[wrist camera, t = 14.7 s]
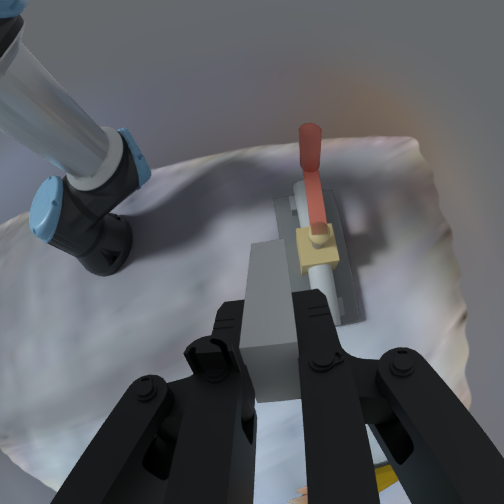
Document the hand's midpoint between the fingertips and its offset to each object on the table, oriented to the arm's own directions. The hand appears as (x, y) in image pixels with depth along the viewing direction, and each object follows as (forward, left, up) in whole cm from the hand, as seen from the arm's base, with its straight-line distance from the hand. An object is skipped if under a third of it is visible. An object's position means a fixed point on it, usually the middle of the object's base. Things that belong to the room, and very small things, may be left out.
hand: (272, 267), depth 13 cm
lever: (+6, +17, -25) cm, 31 cm away
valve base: (+6, +11, -36) cm, 38 cm away
